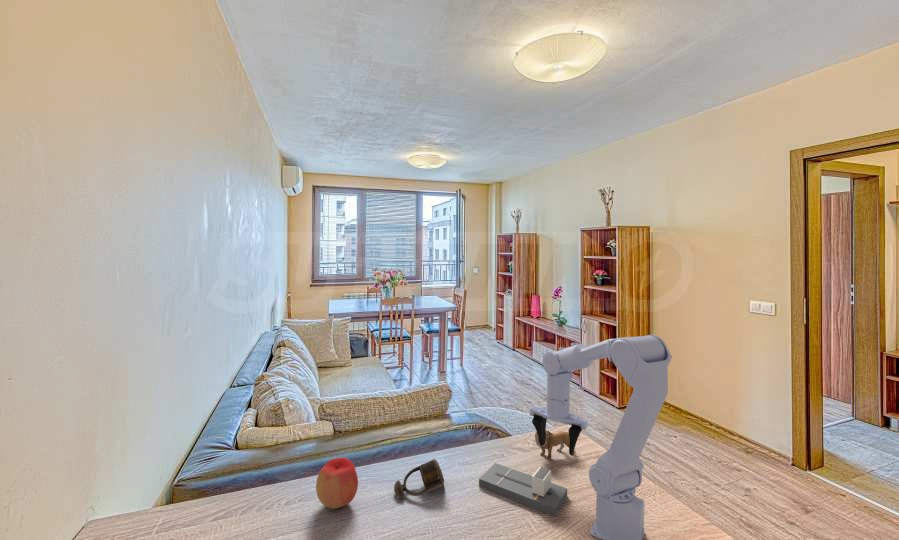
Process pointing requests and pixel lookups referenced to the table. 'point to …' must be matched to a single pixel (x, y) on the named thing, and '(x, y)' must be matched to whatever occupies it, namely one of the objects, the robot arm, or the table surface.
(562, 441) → the lion figurine
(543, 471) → the fader knob
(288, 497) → the table surface
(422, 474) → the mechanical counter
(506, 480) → the fader console
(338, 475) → the apple
